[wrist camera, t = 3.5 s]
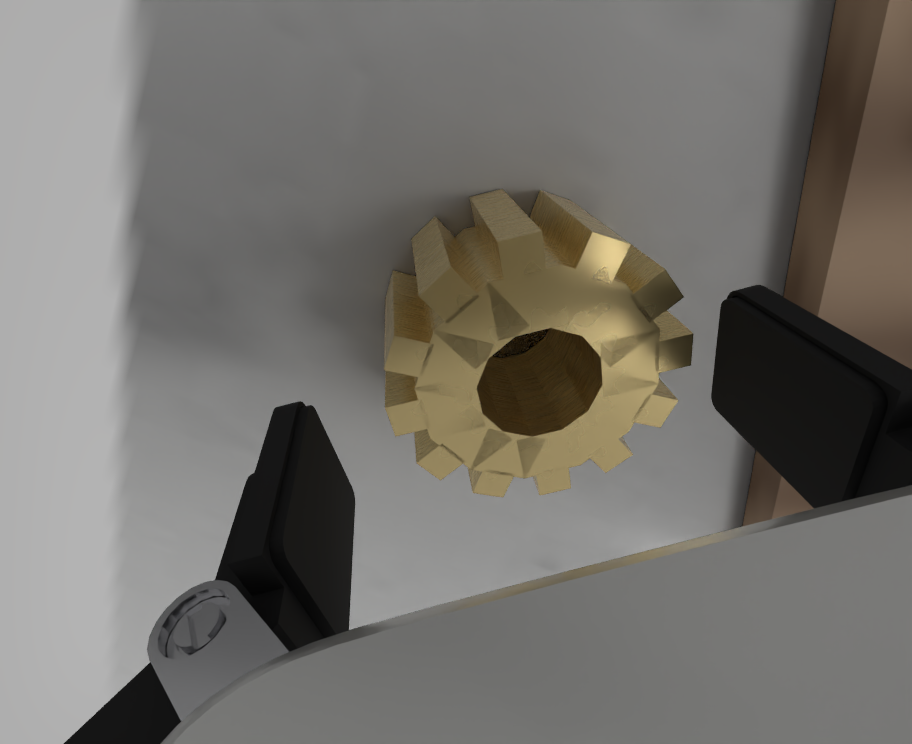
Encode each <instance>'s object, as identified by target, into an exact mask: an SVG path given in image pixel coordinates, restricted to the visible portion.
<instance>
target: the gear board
mask: <svg viewBox="0 0 912 744" xmlns="http://www.w3.org/2000/svg"><path fill="white" fill-rule="evenodd" d="M783 297H784V298H786V299H787V300H789V301H791V302H793V303H795V304H796V305H798V306H800V307H802V308H803V309H805V310H807V311H809V312H810V313H812V314H814V315H816V316H818V317H819V318H821V319H823V320H825V321H826V322H828V323H830V324H832V325H834V326H835V327H837V328H839V329H841V330H842V331H844V332H846V333H848V334H850V335H851V336H853V337H855V338H857V339H858V340H860V341H862V342H864V343H866V344H867V345H869V346H871V347H873V348H874V349H876V350H878V351H880V352H881V353H883V354H885V355H887V356H889V357H890V358H892V359H894V360H896V361H897V362H899V363H901V364H903V365H905V366H906V367H908V368H910V369H912V0H836V4H835V10H834V15H833V21H832V26H831V32H830V38H829V43H828V49H827V54H826V60H825V66H824V71H823V77H822V83H821V88H820V94H819V99H818V105H817V111H816V116H815V122H814V127H813V133H812V139H811V144H810V150H809V155H808V161H807V167H806V172H805V178H804V184H803V189H802V195H801V200H800V206H799V212H798V217H797V223H796V228H795V234H794V240H793V245H792V251H791V257H790V262H789V268H788V273H787V279H786V285H785V290H784V296H783ZM811 509H814V508H813V507H812V506H811V505H810V504H809V503H808V502H807V501H806V500H805V499H804V498H803V497H802V496H801V495H800V494H799V493H798V492H797V491H796V490H795V489H794V488H793V487H792V486H791V485H790V484H789V483H788V482H787V481H786V480H785V479H784V478H783V477H782V476H781V475H780V474H779V473H778V472H777V471H776V470H775V469H774V468H773V467H772V466H771V465H770V464H769V463H768V462H767V461H766V460H765V459H764V458H763V457H762V456H761V455H760V454H759V453H758V452H757V451H756V453H755V459H754V464H753V470H752V475H751V481H750V487H749V492H748V498H747V503H746V509H745V515H744V520H743V526H747V525H751V524H755V523H759V522H763V521H767V520H771V519H775V518H779V517H783V516H787V515H791V514H795V513H799V512H803V511H807V510H811ZM743 526H742V527H743Z"/></svg>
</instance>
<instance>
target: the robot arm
mask: <svg viewBox="0 0 912 744" xmlns="http://www.w3.org/2000/svg"><path fill="white" fill-rule="evenodd" d="M711 398H712V402H713V405H714V407H715V409H716V410H717V411H718V412H719V413H720V414H721V415H722V416H723V417H724V418H725V419H726V420H727V421H728V422H729V423H730V424H731V425H732V426H733V427H734V428H735V429H736V430H737V431H738V433H739V434H740V435H741V436H742V437H743V438H744V439H745V440H746V441H747V442H748V443H749V444H750V445H751V446H752V447H753V448H754V449H755V450H756V451H757V452H758V453H759V454H760V455H761V456H762V457H763V458H764V459H765V460H766V461H767V462H768V463H769V464H770V465H771V466H772V467H773V468H774V469H775V470H776V471H777V472H778V473H779V474H780V475H781V476H782V477H783V478H784V479H785V480H786V481H787V482H788V483H789V484H790V485H791V486H792V487H793V488H794V489H795V490H796V491H797V492H798V493H799V494H800V495H801V496H802V497H803V498H804V499H805V500H806V501H807V502H808V503H809V504H810V505H811V506H812V507H813V508H814V509H811V510H807V511H803V512H799V513H795V514H791V515H787V516H783V517H779V518H775V519H771V520H767V521H763V522H759V523H755V524H751V525H747V526H743V527H739V528H735V529H731V530H727V531H723V532H719V533H715V534H711V535H707V536H703V537H699V538H695V539H691V540H687V541H683V542H680V543H676V544H672V545H668V546H664V547H660V548H656V549H652V550H648V551H644V552H640V553H637V554H633V555H629V556H625V557H621V558H617V559H613V560H609V561H605V562H601V563H598V564H594V565H590V566H586V567H582V568H578V569H574V570H570V571H566V572H563V573H559V574H555V575H551V576H547V577H544V578H540V579H536V580H532V581H528V582H524V583H521V584H517V585H513V586H509V587H505V588H502V589H498V590H494V591H490V592H486V593H482V594H479V595H475V596H471V597H467V598H463V599H460V600H456V601H452V602H448V603H444V604H440V605H437V606H433V607H430V608H426V609H422V610H419V611H415V612H412V613H408V614H405V615H401V616H397V617H394V618H390V619H387V620H383V621H380V622H376V623H372V624H369V625H365V626H362V627H358V628H355V629H352V630H349V615H350V595H351V575H352V555H353V536H354V516H355V496H354V492H353V489H352V486H351V484H350V482H349V480H348V478H347V476H346V473H345V471H344V469H343V467H342V465H341V463H340V461H339V459H338V457H337V454H336V452H335V450H334V448H333V446H332V444H331V442H330V440H329V437H328V435H327V433H326V431H325V429H324V427H323V425H322V423H321V421H320V418H319V416H318V414H317V412H316V410H315V408H314V407H313V406H312V405H310V406H305V404H304V403H303V402H301V401H299V402H295V403H292V404H288V405H284V406H280V407H276V408H275V409H274V411H273V414H272V417H271V420H270V424H269V427H268V430H267V434H266V437H265V440H264V444H263V447H262V450H261V453H260V457H259V460H258V463H257V467H256V470H255V473H253V474H251V475H250V476H249V477H248V479H247V481H246V484H245V487H244V490H243V493H242V497H241V500H240V503H239V506H238V509H237V512H236V516H235V519H234V522H233V525H232V528H231V531H230V534H229V538H228V541H227V544H226V547H225V550H224V553H223V557H222V560H221V563H220V566H219V569H218V572H217V575H216V579H215V580H214V581H209V582H204V583H202V584H200V585H197V586H195V587H193V588H191V589H189V590H188V591H187V592H185V593H184V594H182V595H181V596H179V597H178V598H177V599H176V600H175V601H174V602H173V603H172V604H171V605H170V606H168V607H167V608H166V610H165V611H164V612H163V614H162V615H161V616H160V618H159V619H158V620H157V622H156V624H155V626H154V628H153V630H152V632H151V634H150V636H149V642H148V647H147V651H148V655H149V660H150V663H149V664H148V665H147V666H146V667H145V668H144V669H143V670H142V671H141V672H140V673H138V674H137V675H136V676H135V677H134V678H133V679H132V680H131V681H130V682H129V683H128V684H127V685H126V686H125V687H124V688H122V689H121V690H120V691H119V692H118V693H117V694H116V695H115V696H114V697H113V698H112V699H111V700H110V701H109V702H108V703H106V704H105V705H104V706H103V707H102V708H101V709H100V710H99V711H98V712H97V713H96V714H95V715H94V716H93V717H92V718H91V719H89V720H88V721H87V722H86V723H85V724H84V725H83V726H82V727H81V728H80V729H79V730H78V731H77V732H76V733H75V734H74V735H72V736H71V737H70V738H69V739H68V740H67V741H66V742H65V743H64V744H912V369H910V368H908V367H906V366H905V365H903V364H901V363H899V362H897V361H896V360H894V359H892V358H890V357H889V356H887V355H885V354H883V353H881V352H880V351H878V350H876V349H874V348H873V347H871V346H869V345H867V344H866V343H864V342H862V341H860V340H858V339H857V338H855V337H853V336H851V335H850V334H848V333H846V332H844V331H842V330H841V329H839V328H837V327H835V326H834V325H832V324H830V323H828V322H826V321H825V320H823V319H821V318H819V317H818V316H816V315H814V314H812V313H810V312H809V311H807V310H805V309H803V308H802V307H800V306H798V305H796V304H795V303H793V302H791V301H789V300H787V299H786V298H784V297H782V296H780V295H779V294H777V293H775V292H773V291H771V290H770V289H768V288H766V287H764V286H762V285H755V286H751V287H747V288H744V289H740V290H736V291H732V292H731V293H730V294H729V295H728V297H727V299H726V300H724V301H723V302H722V304H721V309H720V319H719V328H718V337H717V347H716V356H715V366H714V375H713V385H712V394H711Z"/></svg>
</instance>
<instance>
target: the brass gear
mask: <svg viewBox="0 0 912 744" xmlns="http://www.w3.org/2000/svg"><path fill="white" fill-rule="evenodd" d="M470 202H471V208H472V213H473V218H474V224H475V226H474V227H470V228H466V229H463V230H462V231H461V232H460V233H459V234H458V235H457V236H456V237H454V236H453V235H452V234H451V233H450V232H449V230H448V229H447V228H446V227H445V226H444V225H443V224H442V223H441V222H440V221H439V220H438V219H437V218H436V216H435V217H434V218H433V219H432V220H430V221H429V222H428V223H427V224H426V225H425V226H424V227H423V228H422V229H421V230H420V231H419V232H418V233H417V234H416V235H415V236H414V237H413V238H412V247H413V255H414V263H415V270H416V276H413V275H409V274H405V273H401V272H397V271H394V270H393V272H392V275H391V279H390V283H389V287H388V290H387V294H386V298H385V343H384V370H386V382H385V409H386V412H387V414H388V417H389V420H390V422H391V425H392V428H393V431H394V433H395V436H400V435H404V434H408V433H412V432H415V447H416V461H417V464H418V465H420V466H421V467H422V468H424V469H425V470H427V471H428V472H429V473H431V474H432V475H434V476H435V477H436V478H438V479H439V480H442V479H443V478H444V477H446V476H447V475H448V474H450V473H451V472H452V471H454V470H455V469H456V468H458V467H459V466H460V465H462V464H464V465H466V466H467V467H468V471H469V476H470V481H471V486H472V491H473V493H477V494H484V495H490V496H497V497H504V495H505V493H506V491H507V489H508V487H509V485H510V483H511V481H512V479H513V477H519V478H528V477H533V478H534V481H535V484H536V487H537V489H538V492H539V495H544V494H548V493H552V492H557V491H561V490H565V489H569V488H571V484H570V475H569V468H570V467H574V466H579V465H581V464H583V463H584V462H586V461H587V460H588V459H592V460H593V461H594V462H595V463H596V464H597V465H598V466H599V467H600V468H601V469H602V470H603V471H604V472H605V473H606V472H608V471H609V470H611V469H612V468H614V467H615V466H617V465H618V464H620V463H621V462H623V461H624V460H626V459H627V458H629V457H630V456H632V455H633V454H632V452H631V450H630V449H629V447H628V446H627V444H626V443H625V441H624V439H623V438H622V436H623V435H625V434H626V433H628V432H629V430H630V429H631V427H632V426H633V424H634V422H636V423H640V424H645V425H650V426H655V427H659V428H660V427H661V426H662V424H663V423H664V421H665V420H666V418H667V417H668V415H669V414H670V412H671V411H672V409H673V408H674V406H675V405H676V403H677V402H678V399H677V398H676V397H675V396H674V395H673V394H672V393H671V391H670V390H669V389H668V388H667V387H666V386H665V385H664V383H663V382H662V381H661V380H660V379H659V373H661V372H665V371H669V370H673V369H677V368H682V367H686V366H690V365H691V358H692V344H693V333H692V332H691V331H690V330H689V329H688V328H686V327H685V326H684V325H683V324H682V323H681V322H680V321H678V320H677V319H676V318H675V317H674V316H673V315H671V314H670V313H669V312H668V311H667V310H668V309H669V308H670V307H672V306H673V305H674V304H676V303H677V302H678V301H680V300H681V299H682V298H683V297H684V296H683V295H682V293H681V292H680V290H679V289H678V287H677V286H676V285H675V283H674V282H673V280H672V279H671V277H670V276H669V274H668V273H667V271H666V270H665V269H664V268H663V267H661V266H660V265H659V264H657V263H656V262H655V261H653V260H652V259H650V258H649V257H648V256H646V255H645V254H643V253H642V252H641V251H639V250H638V249H637V248H635V247H634V246H632V245H631V244H630V243H629V242H627V241H626V240H624V239H623V238H622V237H620V236H619V235H617V234H616V233H615V232H613V231H612V230H611V229H609V228H608V227H606V226H605V225H604V224H602V223H601V222H599V221H598V220H597V219H595V218H594V217H593V216H591V215H590V214H588V213H587V212H586V211H584V210H583V209H582V208H580V207H579V206H577V205H576V204H575V203H573V202H572V201H570V200H568V199H565V198H562V197H560V196H557V195H554V194H551V193H548V192H545V191H542V190H540V192H539V194H538V197H537V199H536V202H535V205H534V207H533V210H532V212H531V215H530V217H528V216H527V215H526V213H525V212H524V211H523V210H522V209H521V208H520V207H519V206H518V205H517V204H516V203H515V202H514V201H513V200H512V199H511V198H510V197H509V195H508V194H507V193H506V192H505V191H504V190H503V189H499V190H495V191H491V192H487V193H483V194H479V195H475V196H471V197H470ZM548 328H549V329H548ZM544 329H548V331H547V333H546V335H545V337H544V338H543V339H541V340H540V341H539V342H538V343H536V344H535V345H534V346H533V347H531V348H530V349H529V350H528V351H526V352H525V353H521V354H516V355H512V356H508V357H504V358H499V357H494V356H492V355H494V354H495V353H496V352H497V351H498V350H500V349H501V348H502V347H503V346H505V345H506V344H507V343H508V342H509V341H511V340H512V339H513V338H514V337H516V336H520V335H524V334H528V333H532V332H536V331H540V330H544Z"/></svg>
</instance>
